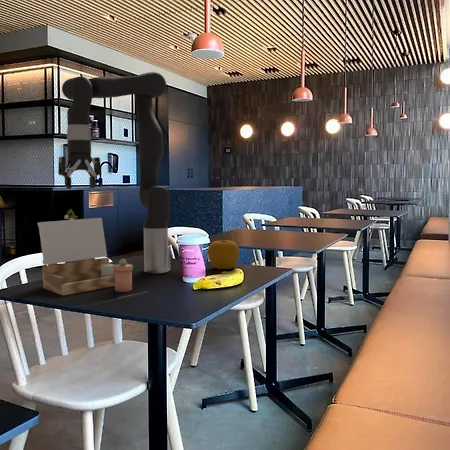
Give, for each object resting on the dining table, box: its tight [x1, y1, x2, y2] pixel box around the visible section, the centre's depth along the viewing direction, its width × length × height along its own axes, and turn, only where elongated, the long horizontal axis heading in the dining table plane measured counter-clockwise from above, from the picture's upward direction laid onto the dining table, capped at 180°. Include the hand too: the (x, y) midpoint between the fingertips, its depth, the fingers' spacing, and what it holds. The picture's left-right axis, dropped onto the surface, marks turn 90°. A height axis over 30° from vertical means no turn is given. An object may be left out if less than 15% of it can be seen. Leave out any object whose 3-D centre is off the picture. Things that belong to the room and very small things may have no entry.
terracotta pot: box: [113, 258, 134, 293], centre depth 158 cm, size 6×6×10 cm
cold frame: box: [41, 257, 115, 296], centre depth 166 cm, size 24×18×18 cm
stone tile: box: [116, 291, 148, 299], centre depth 159 cm, size 11×11×1 cm
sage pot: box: [101, 263, 116, 278], centre depth 169 cm, size 5×5×6 cm
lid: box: [37, 217, 108, 266], centre depth 170 cm, size 23×14×1 cm
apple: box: [207, 239, 240, 270], centre depth 198 cm, size 13×13×11 cm
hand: (80, 188), depth 166 cm, fingers open, 8 cm apart
